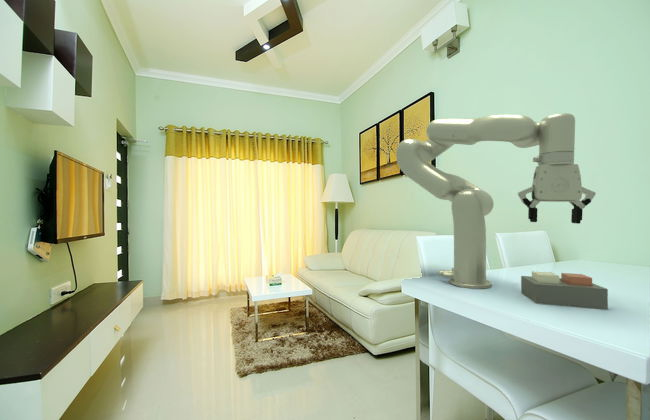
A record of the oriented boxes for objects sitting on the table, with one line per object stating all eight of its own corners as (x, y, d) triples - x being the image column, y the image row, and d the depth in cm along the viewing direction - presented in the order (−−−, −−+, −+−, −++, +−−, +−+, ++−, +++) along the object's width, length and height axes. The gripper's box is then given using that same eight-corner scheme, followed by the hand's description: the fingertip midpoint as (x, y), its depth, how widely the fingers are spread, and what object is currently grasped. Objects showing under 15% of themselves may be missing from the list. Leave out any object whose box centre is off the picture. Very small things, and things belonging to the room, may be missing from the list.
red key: (570, 288, 73) (570, 276, 73) (561, 284, 77) (561, 272, 77) (592, 290, 72) (592, 277, 72) (581, 285, 76) (581, 274, 76)
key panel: (535, 303, 73) (535, 284, 73) (521, 292, 82) (521, 275, 82) (607, 309, 69) (607, 289, 69) (583, 297, 78) (583, 279, 78)
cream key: (538, 286, 75) (538, 274, 75) (531, 282, 79) (531, 271, 79) (559, 288, 74) (559, 276, 74) (551, 283, 78) (551, 272, 78)
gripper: (523, 159, 76) (522, 222, 76) (604, 157, 71) (602, 224, 71) (515, 163, 83) (513, 221, 84) (587, 161, 78) (585, 223, 78)
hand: (554, 222), depth 77 cm, fingers open, 9 cm apart
